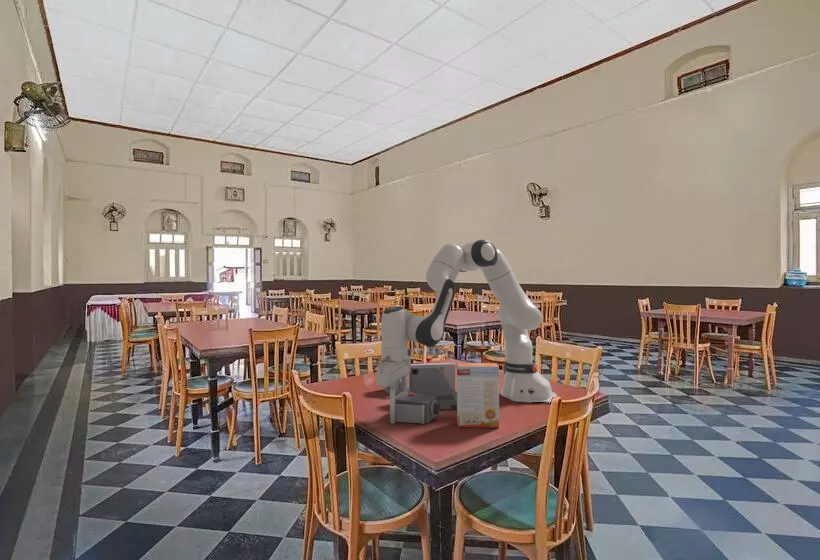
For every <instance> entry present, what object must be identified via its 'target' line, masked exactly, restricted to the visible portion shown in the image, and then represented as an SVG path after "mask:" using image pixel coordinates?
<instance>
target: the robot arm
mask: <svg viewBox="0 0 820 560" xmlns="http://www.w3.org/2000/svg"><path fill="white" fill-rule="evenodd" d="M479 269H480V270H481V271H482V272H483V276H484V278H485V279H486V281H487V284H488V286H489V288H490V290H491V292H492V294H493V296H494V297H495V299H496V300H497V301H498V302H499V304H500V306H499V307H498V310H497V317H498V320H499V321H500V324H501V328H502V335H503V339H504V362H503V375H504V377H503V384H502V388H501V392H500V395H501V396H502V397H504V398H507V399H509V400H510V401H512V402H518V403H519V402H520V403H532V402H548V403H549V404H550V402H551V399H552V397H555V396H557V397H558V394H557V393H556V392H553V391H552V386H551V382H550V381H549V380H548V379H547V378H546V377H544V376H543V375H542V374H541V373H540V372H538V363H535V362H534V361H533V341H532V340H531V339H530V335H529V332H528V331H535V330H537V329H538V328H539V327H540V326H541V324H542V321H543V314H542V312H541V311H540V309H539V308H538V307H537V306H536V305H535V304H534V303H533V302H532V300H531V299H530V298H529V296H528V295H527V294H526V292H524V290H523V287H521V285H520V283H519V281H518V279H517V277H516V276H515V273H514V271H513V269H512V267H511V265H510V263H509V262H508V260H507V258H506V256H505V255H504V254H503V253H502V252H501V250H500V249H498V248H496V246H495V245H494V244H493V243H492V242H491V241H490V240H487V239H478V240H476V241H471V242H467V243H465V244H464V245H461V246H459V245H457V244H455V243H446V244H444V245H442V247H441V248H440V249H439V250H438V252H437V253H436V254H435V256H434V257H433V259H432V261H431V263H430V264H429V266H428V269H427V270H426V274H425V280H426V283H427V285H428V286H429V288H431V289H432V290H433V291H434V292H436V294H437V295H436V297H435V301H434V304H433V307H432V308H431V312H430V313H429V314H428V315H426V316H425V315H424V316H423V315H418V314H414V313H411V312H409V311H408V310H406V309H405V308H404V307H403V306H391V307H388V308H387V307H386V309H384V310H383V311H382V315H381V318H380V319H381V322H380V335H381V339H382V340H381V344H380V351H381V352H380V359H381V360H380V363H378V365H377V368H376V378H375V379H376V386H377V387H378V388H385V387H388V386H390V388H395V393H397V392H398V385H399V379H401V378H403V377H405V376H406V375H408V376H409V372H410V366H411V364H412V362H411V361H412V360H411V359H412V358H411V356H412V348H409V347H407V342H412V343H414V344H415V343H416V344H420V345H422V346H425V347H429V348H430V347H435V346H437V344H439V343H440V342H441V340H442V338H443V336H444V332H445V327H446V326H445V325H446V323H447V319H448V317H449V313H450V310H451V308H452V306H453V301H454V299H455V296H456V290H457V288H456V287H457V285H456V284H455V282H456V279H457V277H458V274H459V273H466V272H472V271H477V270H479ZM548 403H547V404H548ZM549 404H548V405H549Z"/></svg>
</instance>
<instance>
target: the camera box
mask: <svg viewBox="0 0 820 560" xmlns="http://www.w3.org/2000/svg"><path fill="white" fill-rule="evenodd" d="M395 404H409V405H424V424H429V423H431V422H432V420H434V419H435V418H436V417H437V416H438V415H440V412H441V409H440V403H439V402H437V396H431V395H423V394H414V393H413V392H409V393H406V392H401V393H399V394H397V395H395Z"/></svg>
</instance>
